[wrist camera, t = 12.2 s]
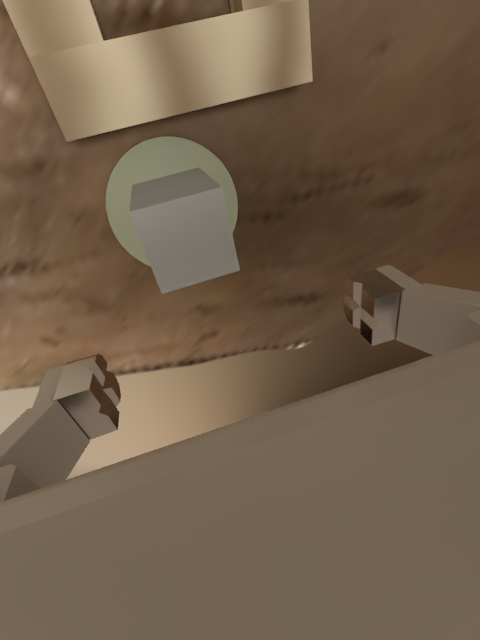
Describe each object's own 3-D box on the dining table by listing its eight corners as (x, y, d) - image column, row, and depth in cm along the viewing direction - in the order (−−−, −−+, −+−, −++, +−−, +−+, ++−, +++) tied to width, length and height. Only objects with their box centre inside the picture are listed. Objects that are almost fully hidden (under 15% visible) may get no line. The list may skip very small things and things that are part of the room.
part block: (198, 167, 23) (222, 186, 17) (214, 232, 26) (240, 270, 20) (132, 184, 23) (129, 212, 16) (155, 249, 26) (161, 294, 19)
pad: (220, 120, 23) (222, 120, 22) (246, 249, 28) (248, 252, 28) (81, 155, 22) (79, 156, 21) (136, 282, 27) (136, 285, 27)
